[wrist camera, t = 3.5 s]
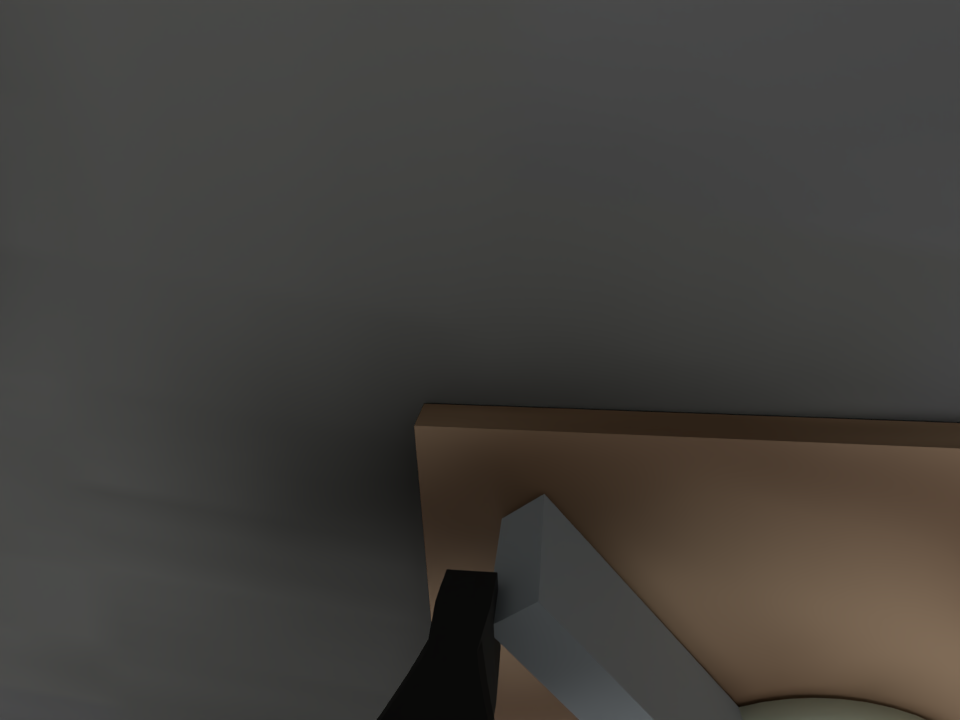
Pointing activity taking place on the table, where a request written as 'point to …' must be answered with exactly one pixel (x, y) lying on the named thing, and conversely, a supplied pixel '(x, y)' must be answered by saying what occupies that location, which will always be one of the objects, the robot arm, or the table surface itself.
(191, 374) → the table surface
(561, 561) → the turntable
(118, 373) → the table surface
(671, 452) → the walnut board
